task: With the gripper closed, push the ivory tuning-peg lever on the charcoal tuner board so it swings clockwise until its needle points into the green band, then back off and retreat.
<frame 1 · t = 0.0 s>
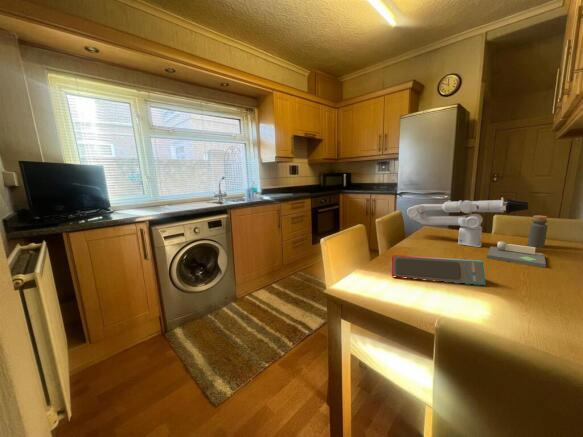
hand: (528, 205, 109), 22 cm above the table, tool horizontal, fingers open, 7 cm apart
bottle: (535, 246, 119), on the table
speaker: (433, 278, 92), on the table
peg lever: (518, 248, 107), point 4 cm above the table, hinge at 0.0°
tuner board: (514, 257, 106), on the table
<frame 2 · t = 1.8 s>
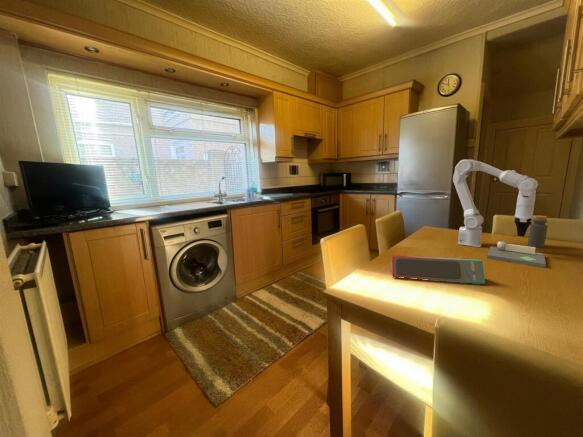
hand: (520, 234, 110), 8 cm above the table, tool pointing down, fingers open, 5 cm apart
nothing on the table moved.
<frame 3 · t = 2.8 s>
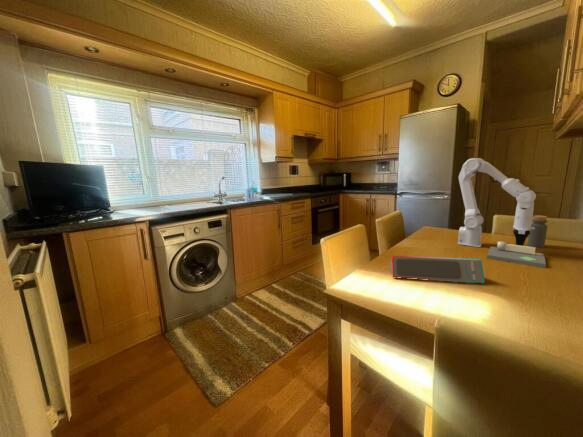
hand: (519, 245, 111), 3 cm above the table, tool pointing down, fingers closed
nothing on the table moved.
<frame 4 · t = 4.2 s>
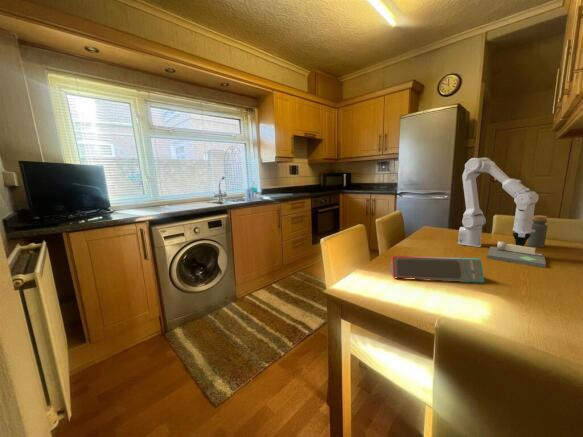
hand: (519, 249, 108), 3 cm above the table, tool pointing down, fingers closed, pressing on peg lever
peg lever: (518, 248, 107), point 4 cm above the table, hinge at -3.2°, touching gripper
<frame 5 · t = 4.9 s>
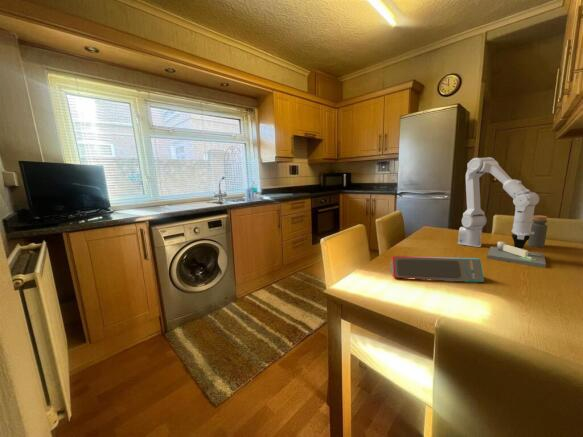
hand: (518, 251, 106), 3 cm above the table, tool pointing down, fingers closed, pressing on peg lever
peg lever: (514, 249, 106), point 4 cm above the table, hinge at -40.6°, touching gripper
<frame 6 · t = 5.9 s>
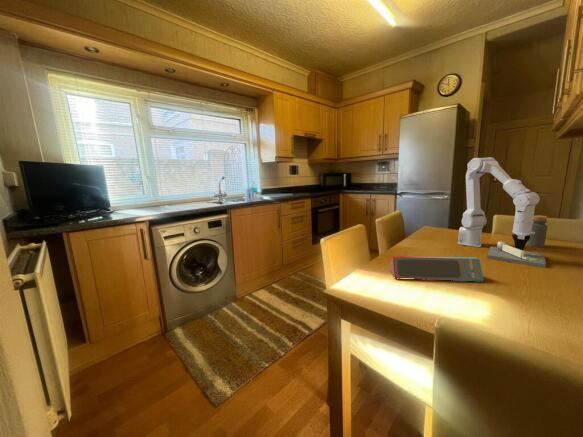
hand: (518, 251, 105), 3 cm above the table, tool pointing down, fingers closed
peg lever: (512, 249, 106), point 4 cm above the table, hinge at -50.0°
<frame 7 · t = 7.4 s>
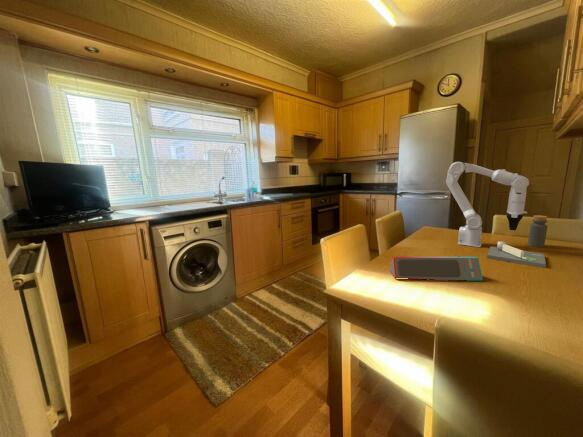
hand: (512, 230, 115), 9 cm above the table, tool pointing down, fingers closed
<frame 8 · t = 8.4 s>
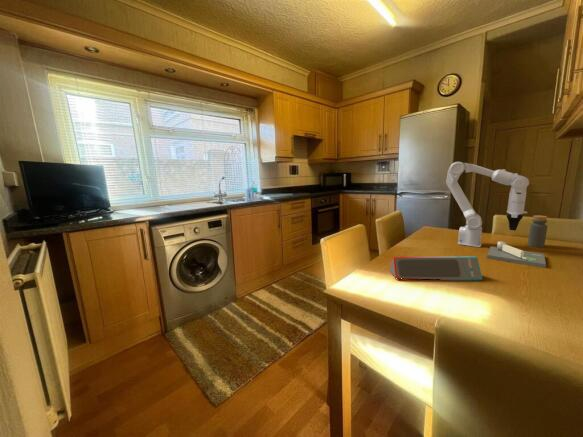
hand: (512, 230, 115), 9 cm above the table, tool pointing down, fingers closed
at the end: peg lever at -50° (first picture: +0°); bottle moved 0.2 cm from its start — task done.
